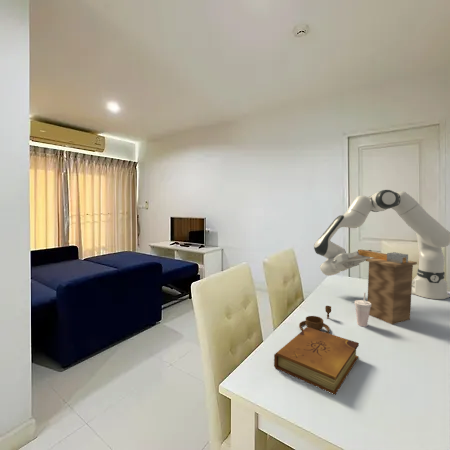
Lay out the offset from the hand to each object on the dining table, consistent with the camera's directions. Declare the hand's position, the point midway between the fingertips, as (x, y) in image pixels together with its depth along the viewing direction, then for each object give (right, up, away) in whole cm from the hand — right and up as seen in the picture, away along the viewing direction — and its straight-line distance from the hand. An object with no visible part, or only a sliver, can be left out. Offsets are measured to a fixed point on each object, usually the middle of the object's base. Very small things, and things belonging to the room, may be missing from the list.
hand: (364, 252), depth 130 cm
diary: (-39, -32, -44) cm, 67 cm away
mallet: (+4, -2, -8) cm, 9 cm away
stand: (+5, -28, -10) cm, 31 cm away
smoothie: (-10, -29, -18) cm, 36 cm away
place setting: (-28, -30, -20) cm, 46 cm away
